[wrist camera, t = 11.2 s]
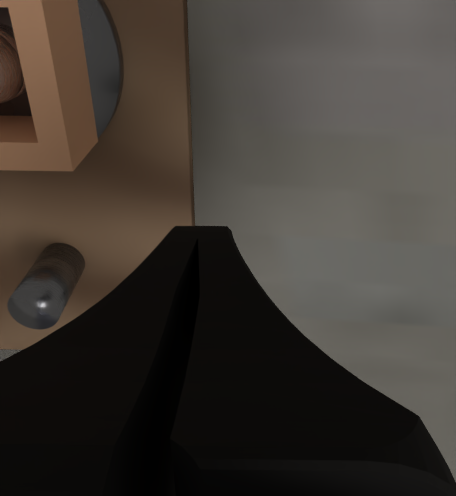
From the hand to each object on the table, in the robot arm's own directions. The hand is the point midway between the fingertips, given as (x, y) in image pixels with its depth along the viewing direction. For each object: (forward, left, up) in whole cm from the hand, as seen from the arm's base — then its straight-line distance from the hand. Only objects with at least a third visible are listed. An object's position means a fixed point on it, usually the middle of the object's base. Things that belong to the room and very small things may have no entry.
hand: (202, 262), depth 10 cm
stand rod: (-8, -2, -8) cm, 12 cm away
